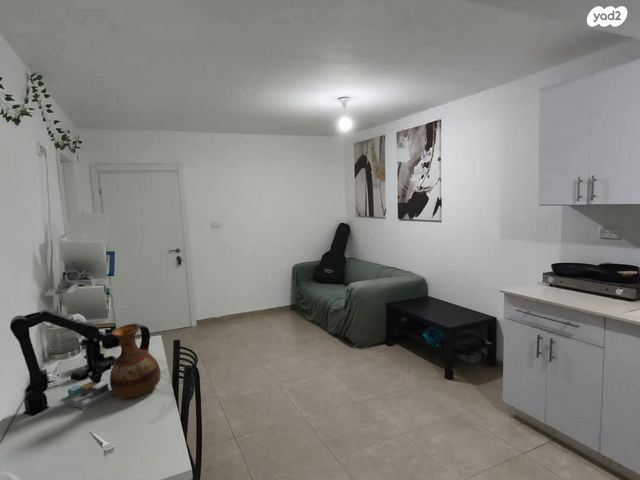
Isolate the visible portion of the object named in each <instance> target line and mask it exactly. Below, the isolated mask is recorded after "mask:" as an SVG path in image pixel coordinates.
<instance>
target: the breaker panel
mask: <svg viewBox="0 0 640 480" xmlns="http://www.w3.org/2000/svg"><path fill="white" fill-rule="evenodd" d="M113 394H114V393H113V391H112V389H109V390H108V391H106V392H105V393H103V394H101V395H99V396H98V395H93V393H91V394H89V395H83V394H81V393H79V394H77V395H75V396H74V397H69V398H68V399H65V400H64V405H65V406H70V407H74V408H78V409H82V410H86V409H88V408H89V407H91V406H93V405H95V404H97V403H98V402H100V401H102V400H104V399H105V398H108V397H109V396H111V395H113Z"/></svg>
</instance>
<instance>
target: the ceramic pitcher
mask: <svg viewBox="0 0 640 480" xmlns="http://www.w3.org/2000/svg"><path fill="white" fill-rule="evenodd" d="M138 330H140V333H141V334H140V335H141V341H140V346H139V347H138V345H137V342H136V334H137V332H138ZM111 333H112V335H113V336H115V337H117V338H118V339H119V341H120V346H119V347H120V349H121V351H120V354H119V356H117V357H116V358H117V359H116V361H115V363H114V365H112V367H111V369H110V375H109V385H110V388H111V389H110V390H112V391H113V394H114V395H115V396H116V397H117V398H122V399H129V398H135V397H138V396H141V395H145V394H146V393H147V392H149V391H150V390H152V389H154V388H155V387H156V386H157V385H158V384H159V383H160V380H161V379H162V378H161V377H162V375H161V373H162V371H161V368H160V365H159V363H158V361H157V360H156V358H155V357H154V356H153V355H152V354H151V352H150V351H149V347H150V342H151V341H150V340H151V333H150V329H149V327H147V325H144V324H138V323H130V324H124V325H121V326H120V327H117V328H115V329H114V330H112V331H111Z"/></svg>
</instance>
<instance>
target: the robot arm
mask: <svg viewBox="0 0 640 480" xmlns="http://www.w3.org/2000/svg"><path fill="white" fill-rule="evenodd" d="M41 323H48V324H51V325H56V326H58V327H60V328H61V327H62V328H65V329H66V330H71V331H73V332H75V333H77V334H78V335H79V336H82V337H84V338H82V340H80V341H79V346H80V347H82V346H84V350H85V355H84V356H83V358H84V359H85V360H86V364H84V367H85V368H86V369H77V370H75V371H72V372H71V374H70V380H71V381H72V380H73V381H77V382H81V381H83V380H86V379H89V380H90V382H94V383H97V384H98V383H100V382H101V380H102V378H103V377H102V376H103V374H104V373H106V372H107V371H109V370H110V371H111V369H112V367H113V365H114V363H115V361H116V359H117V358H118V357H116V356H113V355H111V356H110V355H109V356H108V357H106V358H105V357H104V354H103V353H101V348H100V341H101V345H102V348H105V350H107V349H108V350H110V349H115V348H119V347H121V346H120V341H119V339H118V338H117V337H115V336H113V335H112V332H110V333H106V334H104V333H103V332H101V331H100V328H99V327H98V325H96V324H95V323H93V322H86V321H78V320H75V319H72V318H70V317H66V316H63V315H60V314H57V313H54V312H52V311H50V310H48V309H43V310H40V311H37V312H32V313H29V314H25V315H17V316H14V317H13V318H12V319H11V320H10V324H9V325H10V326H9V327H10V331H11V333H12V334H13V336H14V337H15V338H16V340H17V341H18V343H19V346H20V348H21V349H20V350H21V352H22V355H23V358H24V362H25V365H26V368H27V371H28V374H29V385H28V386H27V387H26V388H25V389H24V398H23V402H24V411H22V413H23V414H25V415H29V416H35V415H37V414H40V413H41V412H43V411H45V410H47V409H49V408H50V406H49V405H48V398H47V395H46V394H45V392H46V390H48V388H49V384H50V376H49V375H48V374H47V369H46V368H45V369H42V368H41V367H40V364H39V361H38V358H37V354H36V351H35V348H34V346H33V341H32V338H31V335H30V328H33V327H35V326H37V325H40V324H41Z"/></svg>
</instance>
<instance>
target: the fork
mask: <svg viewBox="0 0 640 480" xmlns="http://www.w3.org/2000/svg"><path fill="white" fill-rule="evenodd" d="M93 435H94V436H95V437H96V438H97V439H98V440H99V441H100V442H101V443H102V444H101V443H100V442H99V441H98V440H97V439H96V438H95V437H94V436H93ZM93 435H92V436H93V437H94V438H95V439H96V440H97V441H98V442H99V443H100V444H101V445H102V447H103V446H104V445H106V444H109V443H110V442H108V441H105V440H104V439H102V438H101V437H100V436H98V435H97V434H96V433H94V434H93ZM102 447H101V448H102ZM115 447H116V445H114V446H112V447H111V446H110V448H109V447H108V449H106V450H105V451H104V452H107V451H110V450H111V449H113V448H115Z"/></svg>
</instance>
